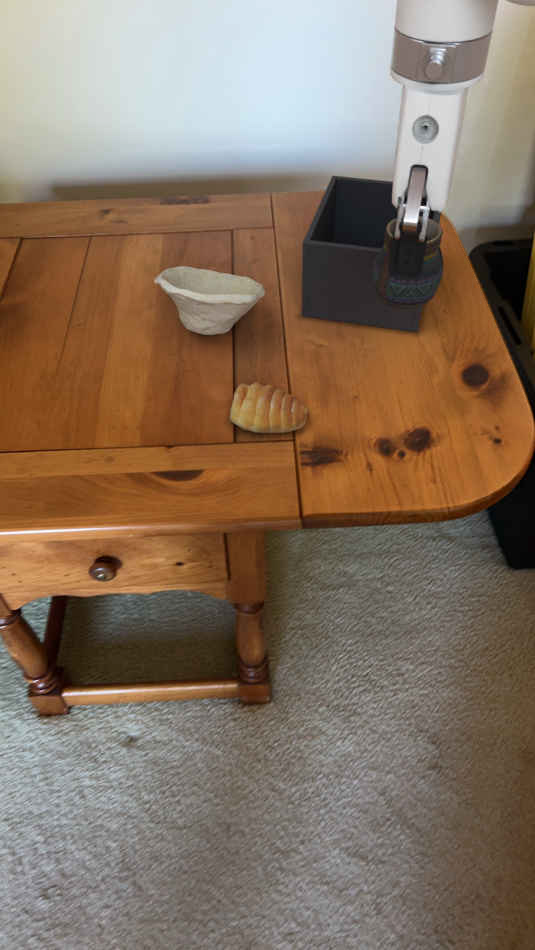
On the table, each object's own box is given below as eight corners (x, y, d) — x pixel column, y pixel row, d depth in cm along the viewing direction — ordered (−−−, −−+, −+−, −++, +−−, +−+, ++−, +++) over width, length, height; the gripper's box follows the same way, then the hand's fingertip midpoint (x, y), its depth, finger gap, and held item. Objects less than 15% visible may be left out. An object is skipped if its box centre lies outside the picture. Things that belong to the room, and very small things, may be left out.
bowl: (283, 311, 96) (282, 249, 89) (235, 369, 89) (230, 307, 81) (197, 285, 101) (188, 224, 93) (144, 338, 93) (130, 276, 86)
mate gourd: (404, 328, 67) (419, 239, 59) (353, 295, 71) (360, 207, 63) (452, 299, 70) (471, 210, 62) (399, 269, 74) (411, 181, 66)
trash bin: (432, 259, 103) (445, 186, 94) (417, 332, 92) (430, 257, 83) (329, 247, 107) (332, 175, 98) (301, 316, 95) (302, 242, 86)
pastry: (312, 404, 84) (312, 382, 81) (301, 443, 80) (301, 421, 77) (241, 394, 85) (239, 372, 83) (226, 431, 81) (224, 409, 78)
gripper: (481, 100, 47) (438, 310, 61) (492, 19, 57) (453, 214, 71) (376, 93, 48) (357, 300, 62) (405, 15, 59) (384, 207, 73)
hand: (409, 253), depth 66 cm, fingers closed on mate gourd, 6 cm apart
